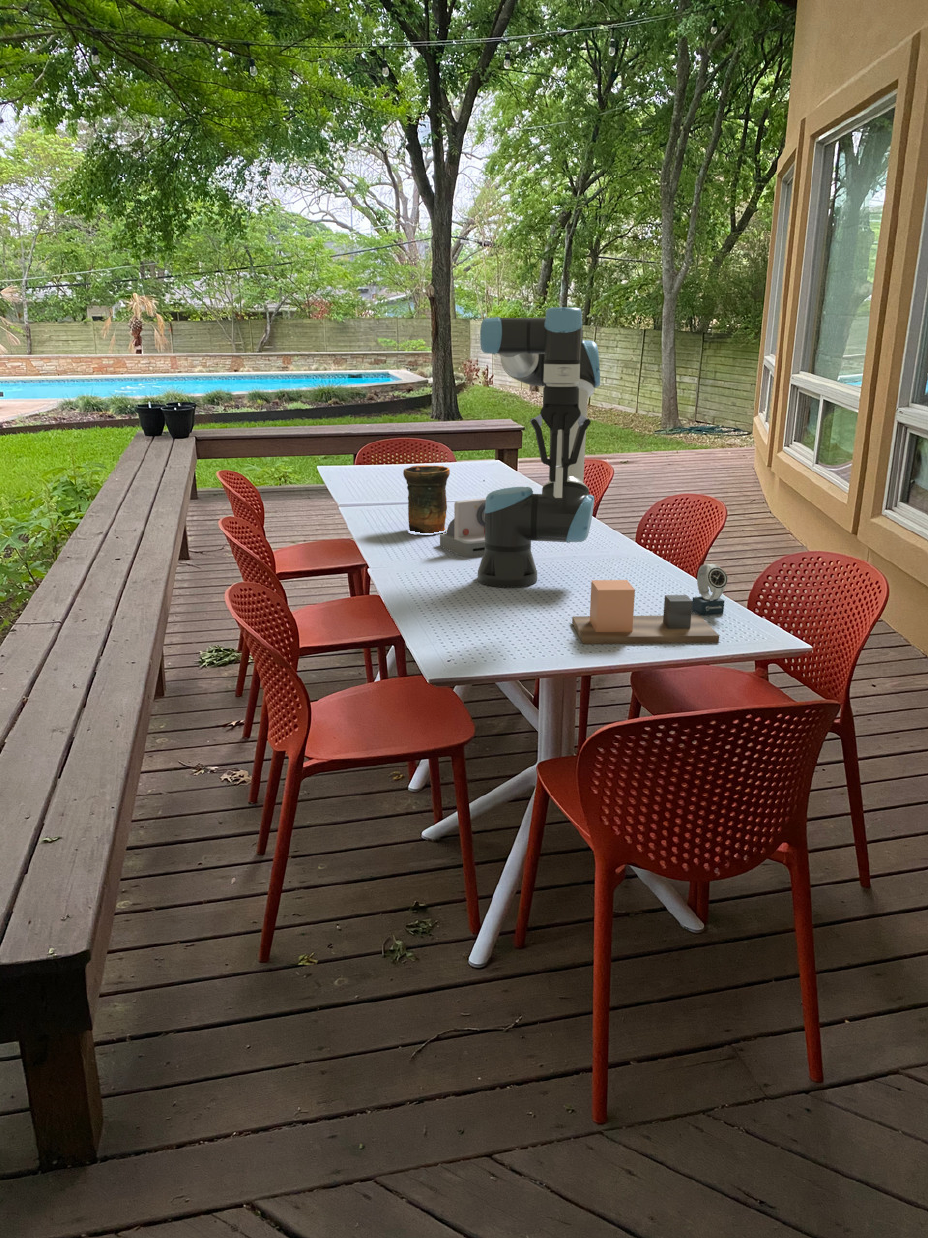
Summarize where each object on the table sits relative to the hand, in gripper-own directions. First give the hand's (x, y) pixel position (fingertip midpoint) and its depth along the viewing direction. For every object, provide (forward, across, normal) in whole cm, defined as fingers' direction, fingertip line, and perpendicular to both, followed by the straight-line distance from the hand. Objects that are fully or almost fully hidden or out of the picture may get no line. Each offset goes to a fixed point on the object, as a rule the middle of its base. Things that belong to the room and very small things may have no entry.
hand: (557, 496), depth 201 cm
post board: (+26, +17, -15) cm, 35 cm away
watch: (+27, +35, -1) cm, 44 cm away
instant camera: (+27, -12, +64) cm, 71 cm away
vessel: (+27, -28, +87) cm, 95 cm away
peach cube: (+25, +10, -15) cm, 31 cm away
